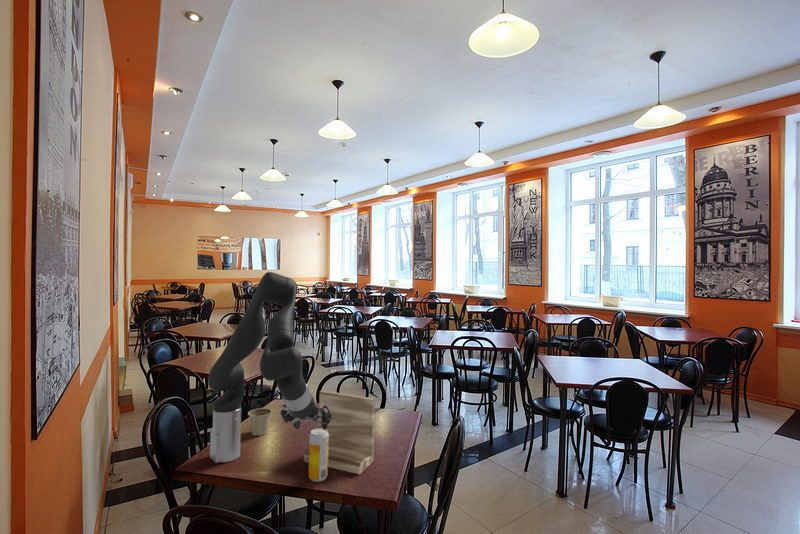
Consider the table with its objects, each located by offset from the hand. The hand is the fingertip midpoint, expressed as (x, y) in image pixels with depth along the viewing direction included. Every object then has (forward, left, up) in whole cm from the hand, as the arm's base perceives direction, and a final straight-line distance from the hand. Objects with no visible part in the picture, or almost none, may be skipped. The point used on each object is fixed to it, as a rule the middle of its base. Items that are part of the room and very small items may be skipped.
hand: (311, 426), depth 127 cm
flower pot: (+5, +50, -19) cm, 54 cm away
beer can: (+4, +3, -19) cm, 19 cm away
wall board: (+16, +8, -18) cm, 26 cm away
